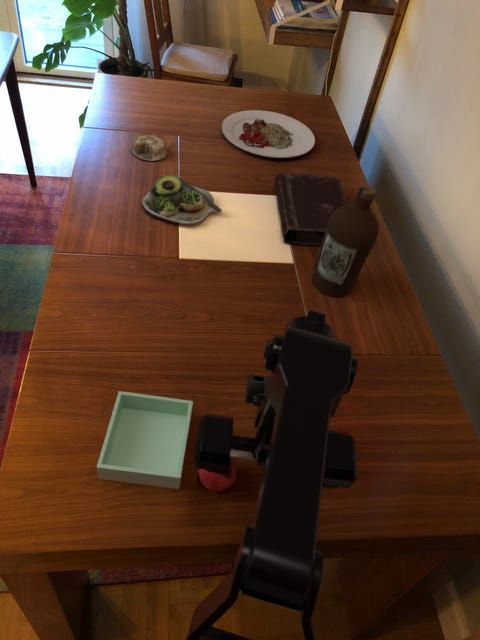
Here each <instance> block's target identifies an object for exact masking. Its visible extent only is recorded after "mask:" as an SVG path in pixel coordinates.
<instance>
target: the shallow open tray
mask: <svg viewBox="0 0 480 640" xmlns="http://www.w3.org/2000/svg"><path fill="white" fill-rule="evenodd" d="M193 407H194V401H193V400H188V399H181V398H173V397H165V396H158V395H152V394H143V393H136V392H128V391H123V390H118V392H117V396H116V400H115V403H114V406H113V409H112V413H111V416H110V420H109V422H108V426H107V431H106V433H105V437H104V441H103V444H102V448H101V451H100V454H99V458H98V461H97V464H96V471H97V476H98V479H99V480H104V481H111V482H119V483H126V484H136V485H143V486H150V487H151V486H152V487H157V488H158V487H159V488H166V489H175V490H180V488H181V482H182V476H183V470H184V463H185V458H186V452H187V445H188V439H189V433H190V426H191V421H192V415H193Z"/></svg>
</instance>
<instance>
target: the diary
mask: <svg viewBox="0 0 480 640" xmlns="http://www.w3.org/2000/svg"><path fill="white" fill-rule="evenodd" d="M273 182H274V188H275V192H276V200H277V208H278V214H279V219H280V226H281V234H282V235H281V236H282V240H283V243H284V244H291V245H292V244H293V245H303V246H304V245H305V246H312V247H313V246H314V247H315V246H316V247H321V245H322V241H323V237H324V233H325V230H326V226H327V222H328V220H329V218H330V217H331V215H332V214H333V213H334V212H335V211H336V210H337V209H338V208H340V207H342V206H345V205H347V204H348V203H347V200H346V196H345V193H344V189H343V185H342V183H341V180H340V178H339V177H333V176H326V175H317V174H305V173H288V172H287V173H286V172H277V174H276V176H275V177H274V181H273Z"/></svg>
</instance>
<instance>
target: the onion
mask: <svg viewBox="0 0 480 640" xmlns="http://www.w3.org/2000/svg"><path fill="white" fill-rule="evenodd" d="M237 474H238V466H237V462H236V460H235V458H232V473H231V478H230V479H227V478H225V477H223V476H221V475H218V474H216V473H213V472H207V471H206V470H203V469H198V476H199V481H200V482H201V484H202V485H203V486H204V487H205V488H207V489H208V490H210V491H214V492H221V491H225V490H227V489H228V488H230V487H231V486H232V485H233V484H234V482H235V481H236V479H237Z"/></svg>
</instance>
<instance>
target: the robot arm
mask: <svg viewBox="0 0 480 640" xmlns="http://www.w3.org/2000/svg"><path fill="white" fill-rule="evenodd" d="M326 316H327V315H326V313H321V312H319V311H316V310H315V311H314V310H311V309H308V312H307V315H301V316H297V317H294V318H292V319H290V320H289V321H288V322H287V323H286V325H285V328H284V332H283V335H281V334H276V333H275V336H274V337H272V339H267V342H266V346H265V349H264V353H263V356H262V357H263V360H264V361H265V365H264V368H265V371H266V372H267V373H268V372H269V373H271V375H270V374H269V375H261V374H255V373H254V374H253V373H249V374H248V377H247V380H246V385H245V392H244V403H246V404H250V405H252V406H254V407H255V406H256V407H257V408H256V412H255V415H254V422H253V427H254V428H256V431H255V434H254V437H249V436H240V435H235V434H234V416H226V415H219V414H213V413H211V414H210V413H204V414H203V415H202V416H201V417H200V418H199V424H198V429H197V430H198V431H197V436H196V444H195V450H194V457H193V465H194V466H195V468H196V469H198V470H199V469H203V470H206V471H207V472H213V473H216V474H218V475H221V476H223V477H225V478H227V479H230V478H231V473H232V458H233V459H241V460H247V461H255V466H256V467H260V468H261V467H263V468H264V469H263V472H262V473H263V474H262V478H261V482H260V488H259V492H258V496H257V500H256V504H255V509H254V514H253V518H252V523H251V526H250V525H247V524H246V525H245V527H244V530H243V533H242V536H241V540H240V542H239V546H238V550H237V553H236V557H235V560H234V565H233V569H232V571H231V572H229V574H228V575H227V576H225V578H223V580H222V581H221V582H219V584H217V586H216V587H214V588H213V589H212V591H210V593H208V594H207V595H206V596H205V597H204V599H202V601H200V602H199V603H198V604H197V606H196V607H195V609H194V611H193V613H192V617H191V621H190V624H189V628H188V631H187V633H186V634H187V635H186V637H185V640H253V639H252V638H249V637H245V636H242V635H240V634H236V633H233V632H230V631H228V630H224V629H221V628H218V627H215V626H214V625H215V624H216V623H217V621H219V620H220V618H222V616H223V615H225V614H226V613H227V612H228V610H230V609H231V608H232V607H233V606H234V605H235V603H236V601H237V600H238V598H239V595H244V596H247V597H250V598H252V599H253V598H254V599H256V600H258V601H262V602H265V603H268V604H271V605H275V606H277V607H280V608H284V609H286V610H289V611H293V612H296V613H299V616H300V621H301V627H302V631H303V636H304V639H305V640H317V638H316V634H315V629H314V625H313V622H312V618H313V614H314V611H315V606H316V603H317V600H318V596H319V592H320V587H321V582H322V577H323V569H324V552H323V550H322V549H321V548H320V547H317V540H318V530H319V520H320V514H321V505H322V504H321V503H322V494H323V488H324V489H338V488H342V489H349V488H351V486H352V485H354V483H355V482H356V480H358V475H359V467H358V466H359V465H358V457H357V447H356V439H355V438H354V437H353V435H351V433H350V432H344V431H338V430H330V424H331V423H330V421H331V419H332V418H334V416H335V414H336V412H337V410H338V408H339V405H340V404H341V402H342V399H343V397H344V395H348V394H349V393H350V391H351V389H352V386H353V384H354V380H355V377H356V374H357V369H358V357H357V356H354V347H353V344H352V343H351V342H348V341H345V340H342V339H338V338H335V333H334V329H333V328H332V327H331V326H330V324H328V323H327V322H326Z"/></svg>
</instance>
